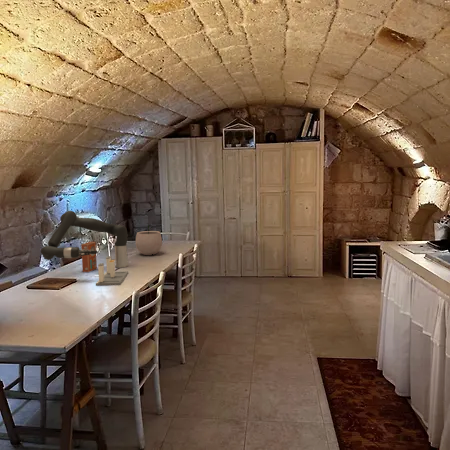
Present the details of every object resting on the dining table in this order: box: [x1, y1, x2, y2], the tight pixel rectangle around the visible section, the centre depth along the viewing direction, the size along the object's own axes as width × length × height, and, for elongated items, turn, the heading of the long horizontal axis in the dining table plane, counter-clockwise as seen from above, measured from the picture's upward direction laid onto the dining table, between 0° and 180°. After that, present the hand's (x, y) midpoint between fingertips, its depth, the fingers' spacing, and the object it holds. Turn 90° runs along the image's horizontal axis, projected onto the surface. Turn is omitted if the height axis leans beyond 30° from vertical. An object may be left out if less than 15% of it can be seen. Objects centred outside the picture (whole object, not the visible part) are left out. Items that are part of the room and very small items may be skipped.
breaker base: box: [95, 255, 129, 287], centre depth 301 cm, size 16×35×14 cm, turn 4°
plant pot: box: [135, 223, 163, 256], centre depth 393 cm, size 24×24×30 cm
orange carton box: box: [80, 241, 98, 273], centre depth 331 cm, size 21×7×15 cm
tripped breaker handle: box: [110, 258, 116, 278], centre depth 301 cm, size 3×5×12 cm, turn 4°
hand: (97, 252), depth 299 cm, fingers closed
